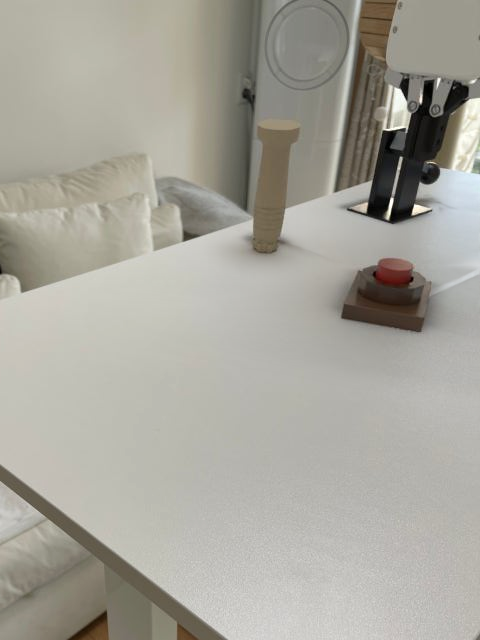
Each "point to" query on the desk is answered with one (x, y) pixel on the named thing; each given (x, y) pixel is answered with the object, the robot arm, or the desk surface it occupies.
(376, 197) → the bracket
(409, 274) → the button
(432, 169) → the lever
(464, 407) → the desk surface
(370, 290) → the button block
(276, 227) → the handle
